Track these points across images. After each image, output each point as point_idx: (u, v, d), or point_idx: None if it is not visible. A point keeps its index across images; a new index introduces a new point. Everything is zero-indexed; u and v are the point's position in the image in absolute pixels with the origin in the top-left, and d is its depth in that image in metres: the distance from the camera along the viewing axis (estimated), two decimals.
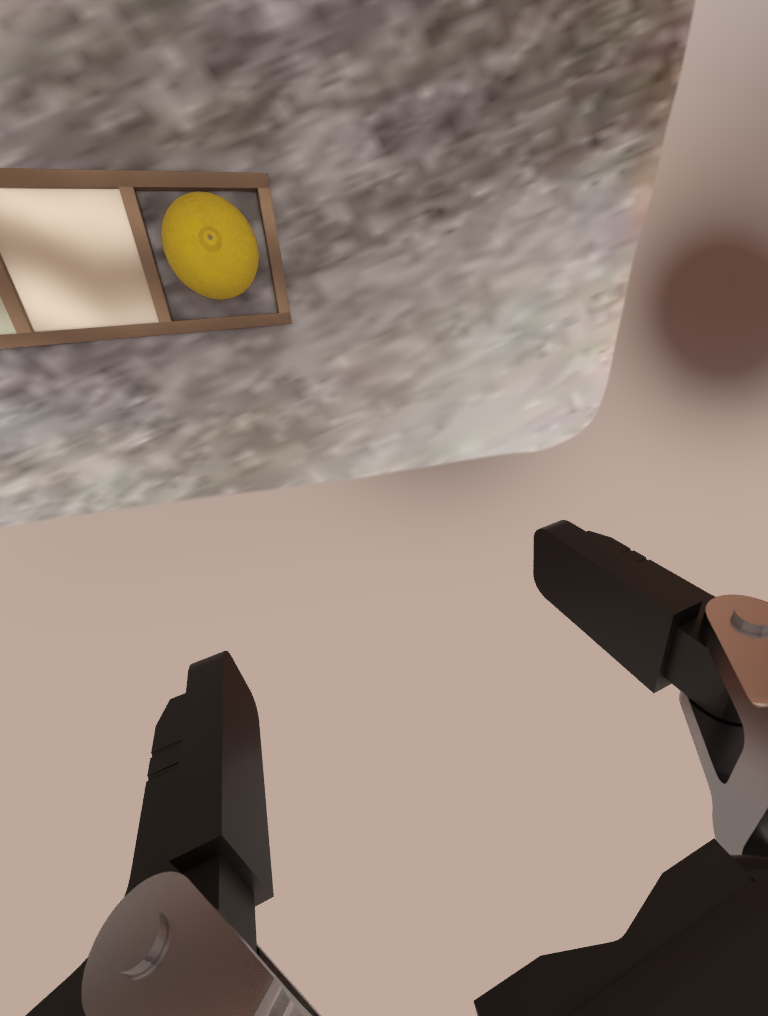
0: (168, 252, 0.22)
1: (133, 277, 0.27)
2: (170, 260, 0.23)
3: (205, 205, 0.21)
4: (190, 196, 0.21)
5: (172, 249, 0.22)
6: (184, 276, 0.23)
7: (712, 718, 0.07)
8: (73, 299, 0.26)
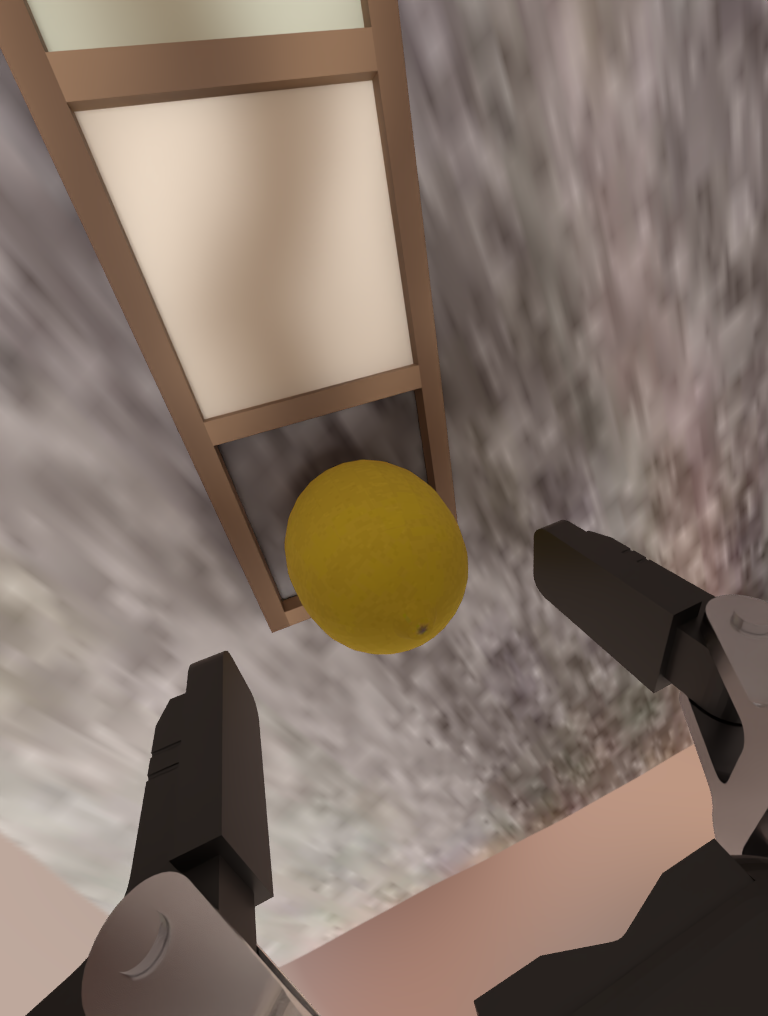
0: (363, 512, 0.10)
1: (280, 373, 0.13)
2: (346, 510, 0.10)
3: (461, 587, 0.11)
4: (464, 548, 0.11)
5: (375, 532, 0.10)
6: (323, 543, 0.10)
7: (712, 718, 0.07)
8: (199, 241, 0.11)
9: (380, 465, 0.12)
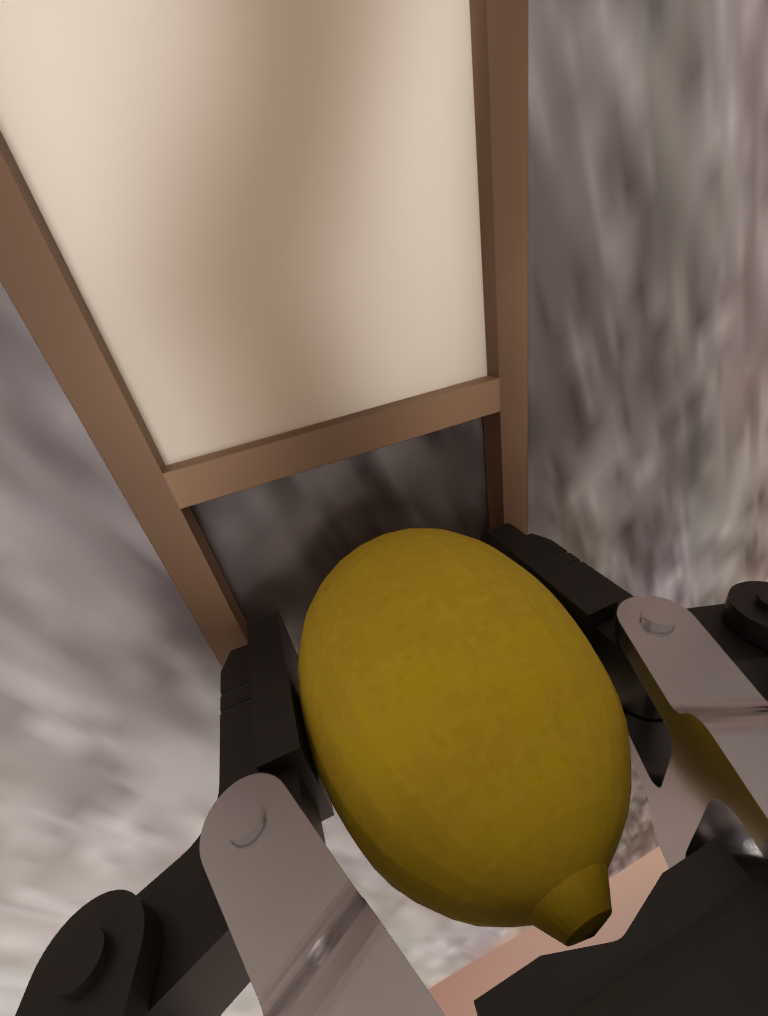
0: (460, 673, 0.05)
1: (288, 391, 0.08)
2: (425, 664, 0.05)
3: None
4: (621, 710, 0.06)
5: (491, 724, 0.05)
6: (382, 731, 0.05)
7: (637, 718, 0.07)
8: (146, 157, 0.06)
9: (460, 549, 0.07)
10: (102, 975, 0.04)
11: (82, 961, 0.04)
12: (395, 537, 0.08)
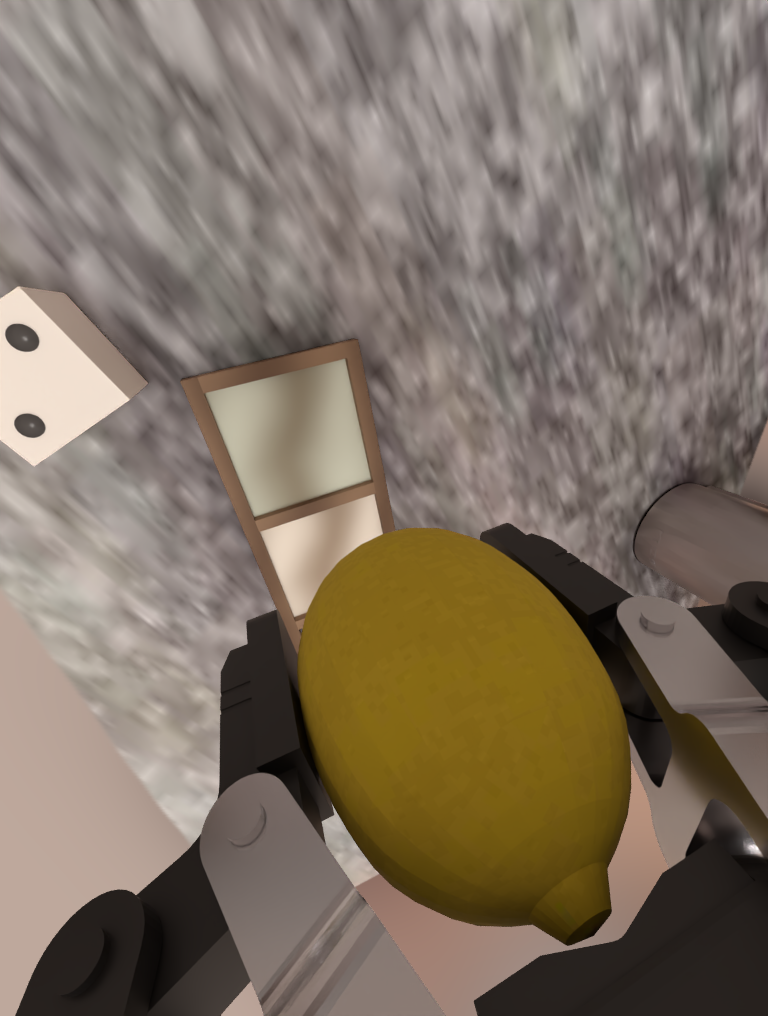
0: (460, 672, 0.05)
1: None
2: (425, 663, 0.05)
3: None
4: (621, 709, 0.06)
5: (491, 723, 0.05)
6: (382, 731, 0.05)
7: (637, 718, 0.07)
8: (299, 555, 0.26)
9: (460, 549, 0.07)
10: (102, 974, 0.04)
11: (81, 961, 0.04)
12: (395, 537, 0.08)
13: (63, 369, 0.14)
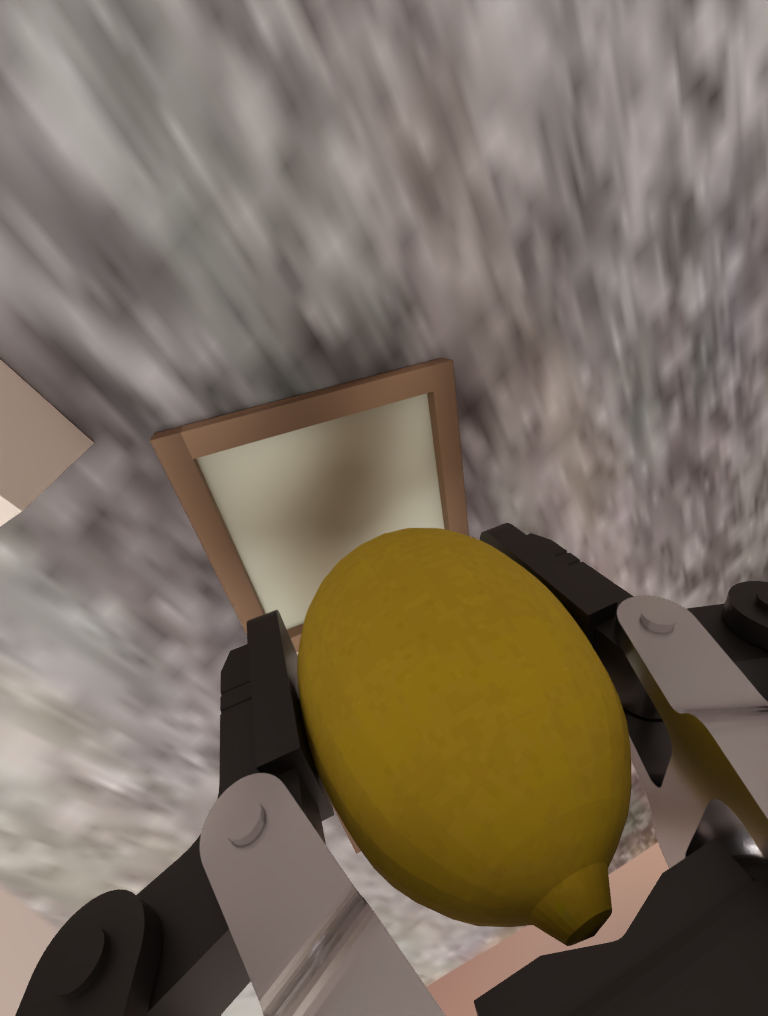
0: (460, 672, 0.05)
1: None
2: (425, 663, 0.05)
3: None
4: None
5: (491, 723, 0.05)
6: (382, 731, 0.05)
7: (637, 718, 0.07)
8: None
9: (460, 549, 0.07)
10: (102, 975, 0.04)
11: (83, 961, 0.04)
12: (395, 537, 0.08)
13: None
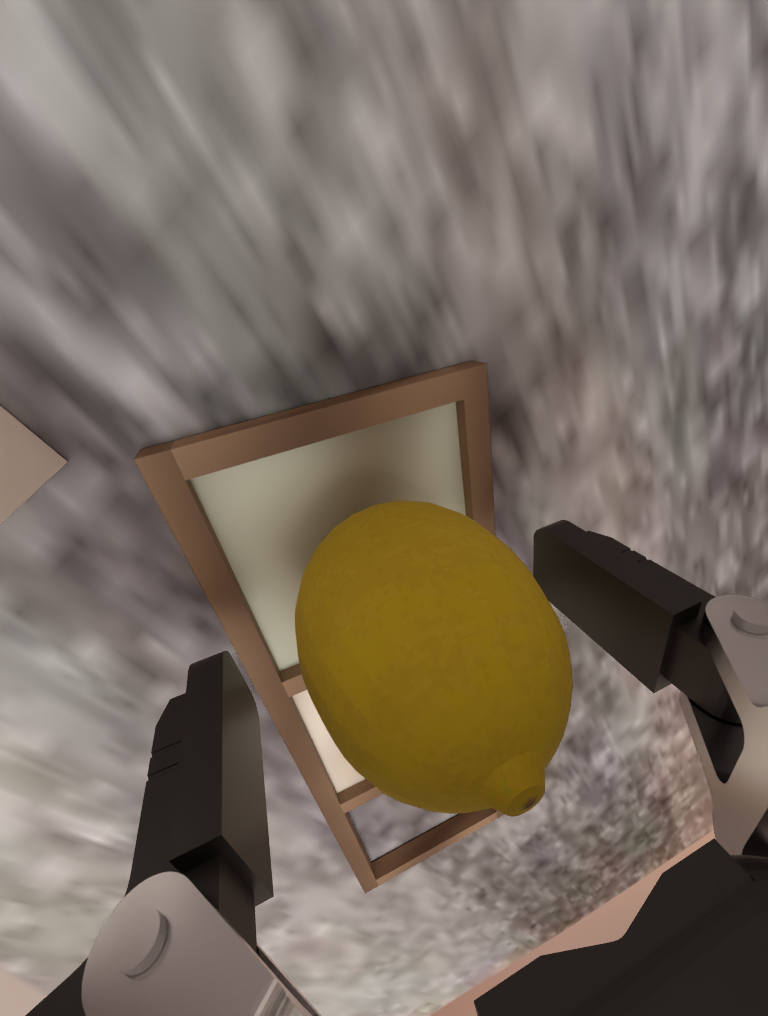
0: (427, 602, 0.06)
1: None
2: (399, 596, 0.07)
3: None
4: (567, 645, 0.07)
5: (450, 639, 0.06)
6: (363, 650, 0.06)
7: (712, 718, 0.07)
8: None
9: (435, 514, 0.08)
10: None
11: None
12: (381, 506, 0.09)
13: None
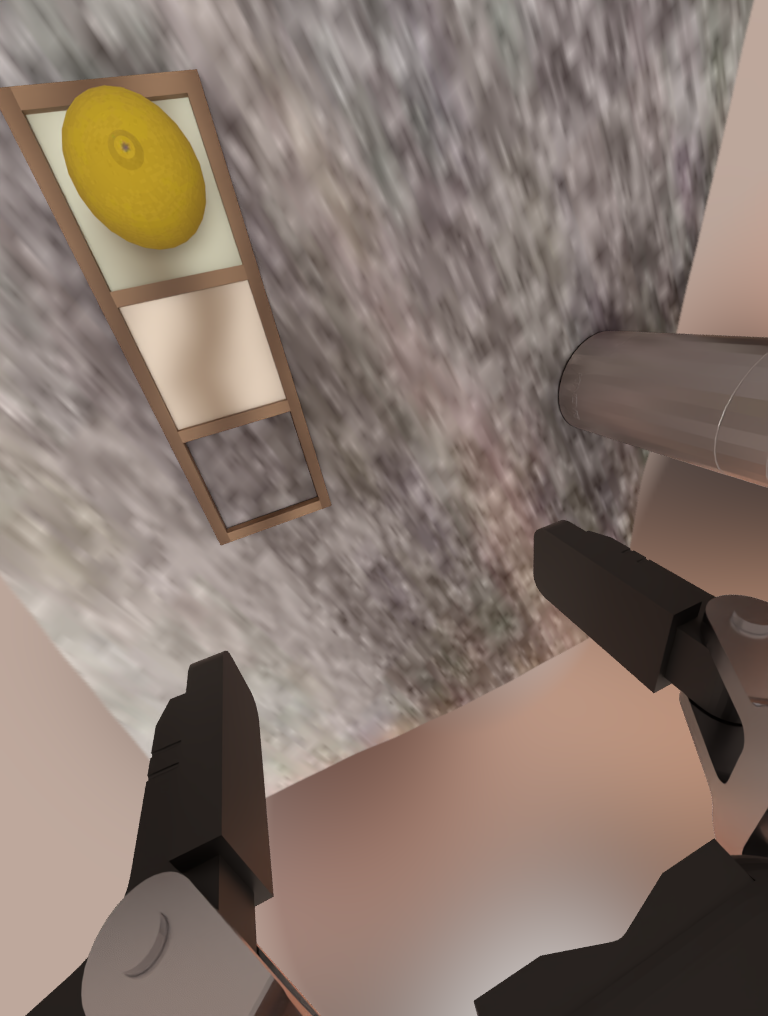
0: (95, 87, 0.15)
1: (215, 406, 0.27)
2: None
3: (172, 155, 0.16)
4: (180, 139, 0.17)
5: (97, 89, 0.15)
6: (69, 106, 0.15)
7: (712, 718, 0.07)
8: (172, 351, 0.25)
9: None
10: None
11: None
12: None
13: None
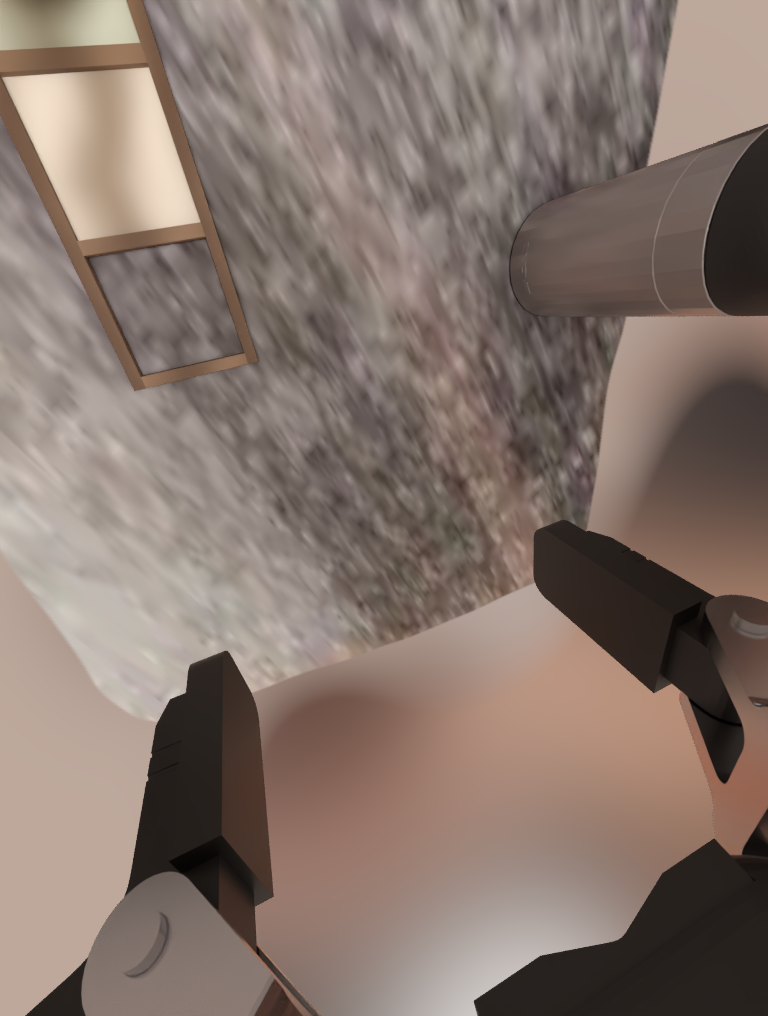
0: None
1: (120, 220, 0.25)
2: None
3: None
4: None
5: None
6: None
7: (712, 718, 0.07)
8: (66, 142, 0.23)
9: None
10: None
11: None
12: None
13: None
